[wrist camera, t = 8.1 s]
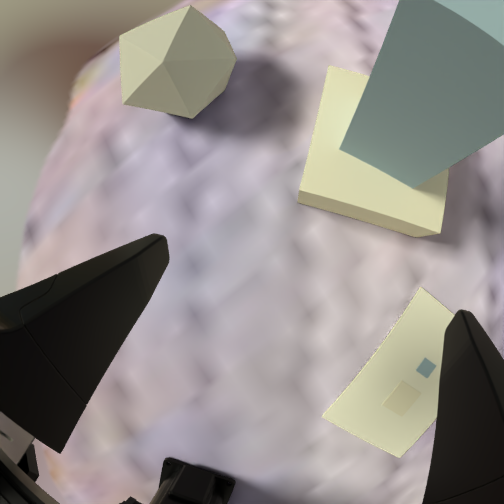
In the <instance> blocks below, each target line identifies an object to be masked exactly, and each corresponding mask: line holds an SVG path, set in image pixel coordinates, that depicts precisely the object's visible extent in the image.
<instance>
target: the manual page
mask: <svg viewBox="0 0 504 504" xmlns="http://www.w3.org/2000/svg"><path fill="white" fill-rule="evenodd" d="M454 316H455V315H454V314H452V313H451V312H450V311H449V310H448V309H447V308H446V307H444V306H443V305H442V304H441V303H440V302H438V301H437V300H436V299H435V298H434V297H433V296H431V295H430V294H429V293H428V292H427V291H425V290H424V289H423V288H422V287H420V288H419V290H418V291H417V293H416V294H415V296H414V297H413V299H412V301H411V302H410V304H409V305H408V307H407V308H406V310H405V311H404V313H403V314H402V316H401V317H400V319H399V320H398V321H397V323H396V324H395V326H394V327H393V329H392V330H391V331H390V333H389V334H388V336H387V337H386V338H385V340H384V341H383V343H382V344H381V345H380V347H379V348H378V349H377V351H376V352H375V353H374V354H373V356H372V357H371V358H370V360H369V361H368V362H367V364H366V365H365V366H364V367H363V369H362V370H361V371H360V372H359V374H358V375H357V376H356V377H355V378H354V380H353V381H352V382H351V383H350V384H349V386H348V387H347V388H346V389H345V390H344V391H343V393H342V394H341V395H340V396H339V397H338V398H337V400H336V401H335V402H334V403H333V404H332V405H331V406H330V407H329V408H328V410H327V411H326V412H325V413H324V414H323V415H322V417H323V418H325V419H326V420H328V421H330V422H331V423H333V424H335V425H337V426H339V427H340V428H342V429H344V430H346V431H348V432H349V433H351V434H353V435H355V436H357V437H359V438H360V439H362V440H364V441H366V442H368V443H370V444H372V445H374V446H376V447H378V448H380V449H382V450H384V451H386V452H388V453H390V454H392V455H394V456H396V457H398V458H400V457H401V456H402V455H403V454H404V453H405V452H406V451H407V450H408V449H409V448H410V447H411V446H412V445H413V444H414V443H415V442H416V441H417V440H418V439H419V437H420V436H421V435H422V434H423V433H424V432H425V431H426V430H427V429H428V427H429V426H430V425H431V424H432V423H433V422H434V420H435V419H436V418H437V409H438V395H439V379H440V371H441V363H442V354H443V344H444V334H445V330H446V328H447V326H448V325H449V323H450V322H451V320H452V319H453V317H454Z"/></svg>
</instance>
